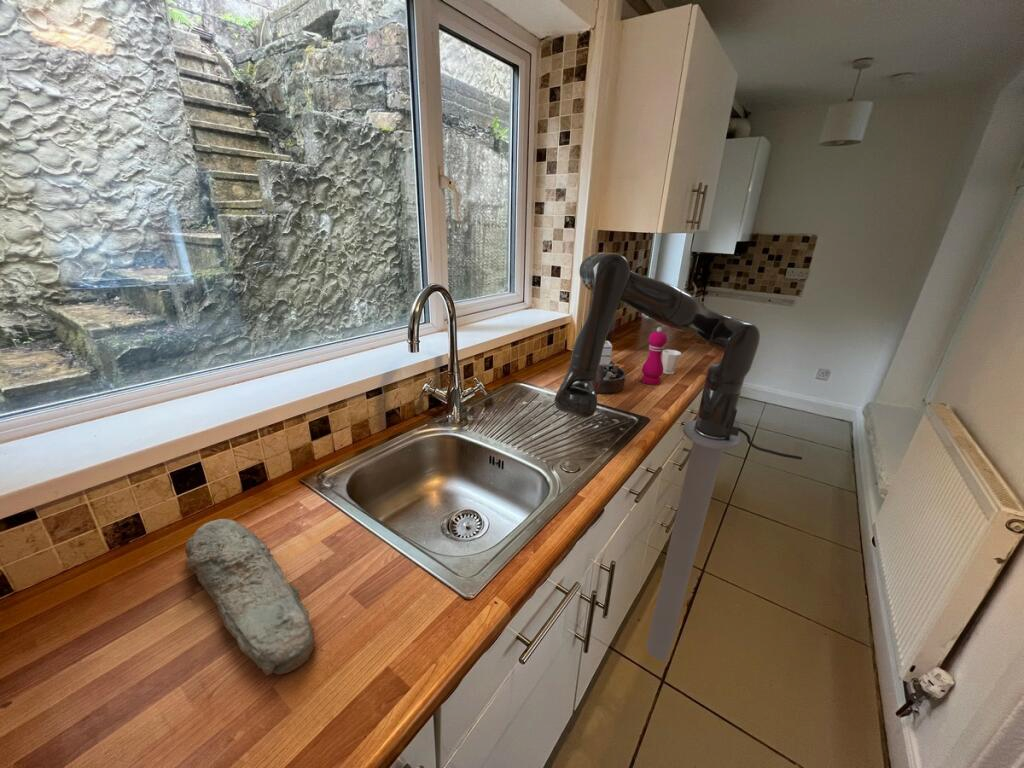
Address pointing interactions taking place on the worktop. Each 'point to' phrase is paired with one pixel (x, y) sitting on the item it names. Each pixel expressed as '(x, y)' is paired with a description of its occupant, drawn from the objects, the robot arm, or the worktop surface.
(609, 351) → the syrup box
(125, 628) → the worktop surface
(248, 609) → the long grey stone
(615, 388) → the pan
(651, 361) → the pepper mill
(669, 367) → the cup
